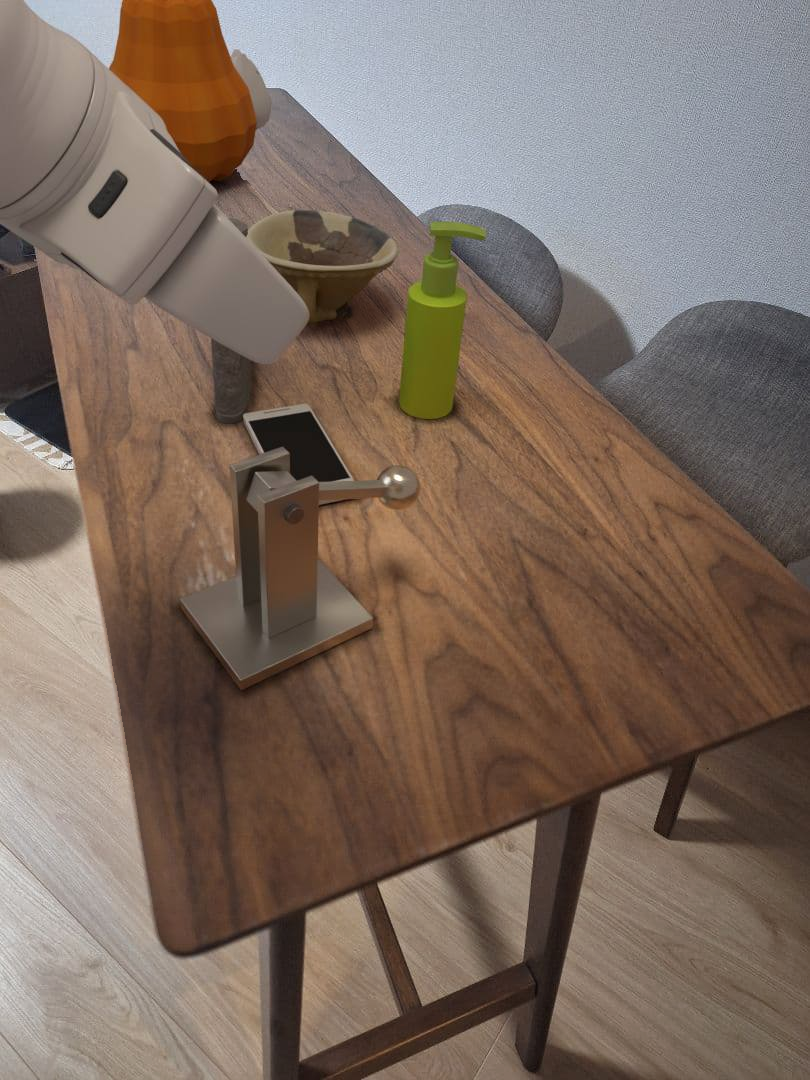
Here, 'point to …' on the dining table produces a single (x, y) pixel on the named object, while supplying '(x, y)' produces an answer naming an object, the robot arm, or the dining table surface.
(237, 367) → the flask
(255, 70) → the toy character
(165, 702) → the dining table surface
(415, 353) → the soap dispenser
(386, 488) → the lever
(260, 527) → the metal pivot stand
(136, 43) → the decorative pumpkin
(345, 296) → the bowl
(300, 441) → the smartphone
